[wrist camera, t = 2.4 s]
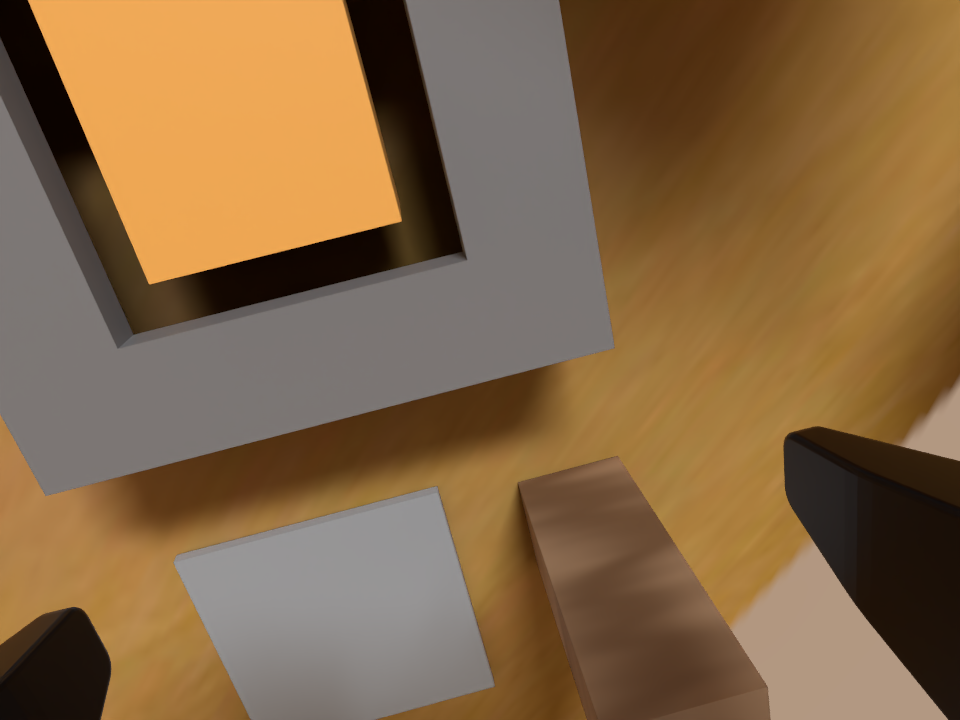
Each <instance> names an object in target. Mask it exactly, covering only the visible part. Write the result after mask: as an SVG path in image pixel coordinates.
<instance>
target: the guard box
mask: <svg viewBox="0 0 960 720" xmlns="http://www.w3.org/2000/svg"><path fill="white" fill-rule="evenodd" d="M403 2H404V6H405V10H406V14H407V18H408V23H409V27H410V31H411V35H412V39H413V44H414V48H415V52H416V56H417V60H418V65H419V69H420V73H421V77H422V81H423V86H424V90H425V94H426V98H427V102H428V107H429V111H430V115H431V119H432V123H433V128H434V132H435V136H436V140H437V144H438V149H439V153H440V157H441V161H442V165H443V169H444V174H445V178H446V182H447V186H448V190H449V195H450V199H451V203H452V207H453V211H454V216H455V220H456V224H457V228H458V232H459V237H460V241H461V245H462V249H463V252H459V253H455V254H451V255H447V256H443V257H439V258H435V259H431V260H427V261H423V262H419V263H416V264H412V265H408V266H404V267H400V268H396V269H392V270H388V271H384V272H380V273H376V274H372V275H368V276H364V277H360V278H356V279H352V280H348V281H344V282H340V283H336V284H332V285H328V286H324V287H321V288H317V289H313V290H309V291H305V292H301V293H297V294H293V295H289V296H285V297H281V298H277V299H273V300H269V301H265V302H261V303H257V304H253V305H249V306H245V307H241V308H237V309H233V310H229V311H226V312H222V313H218V314H214V315H210V316H206V317H202V318H198V319H194V320H190V321H186V322H182V323H178V324H174V325H170V326H166V327H162V328H158V329H154V330H150V331H146V332H142V333H138V334H134V335H133V332H132V330H131V328H130V326H129V323H128V321H127V319H126V317H125V315H124V312H123V310H122V308H121V306H120V303H119V301H118V299H117V297H116V294H115V292H114V290H113V288H112V286H111V283H110V281H109V279H108V277H107V274H106V272H105V270H104V268H103V266H102V263H101V261H100V259H99V257H98V254H97V252H96V250H95V248H94V245H93V243H92V241H91V239H90V237H89V234H88V232H87V230H86V228H85V225H84V223H83V221H82V219H81V216H80V214H79V212H78V210H77V208H76V205H75V203H74V201H73V199H72V196H71V194H70V192H69V190H68V188H67V185H66V183H65V181H64V179H63V176H62V174H61V172H60V170H59V167H58V165H57V163H56V161H55V159H54V156H53V154H52V152H51V150H50V147H49V145H48V143H47V141H46V138H45V136H44V134H43V132H42V130H41V127H40V125H39V123H38V121H37V118H36V116H35V114H34V112H33V110H32V107H31V105H30V103H29V101H28V98H27V96H26V94H25V92H24V89H23V87H22V85H21V83H20V81H19V78H18V76H17V74H16V72H15V69H14V67H13V65H12V63H11V61H10V58H9V56H8V54H7V52H6V49H5V47H4V45H3V43H2V40H1V38H0V415H1V416H2V418H3V420H4V422H5V424H6V425H7V427H8V429H9V431H10V433H11V434H12V436H13V438H14V440H15V442H16V443H17V445H18V447H19V449H20V451H21V452H22V454H23V456H24V458H25V460H26V461H27V463H28V465H29V467H30V469H31V470H32V472H33V474H34V476H35V478H36V479H37V481H38V483H39V485H40V487H41V488H42V490H43V492H44V494H45V496H48V495H51V494H55V493H59V492H63V491H67V490H71V489H75V488H78V487H82V486H86V485H90V484H94V483H98V482H101V481H105V480H109V479H113V478H117V477H121V476H125V475H128V474H132V473H136V472H140V471H144V470H148V469H151V468H155V467H159V466H163V465H167V464H171V463H175V462H178V461H182V460H186V459H190V458H194V457H198V456H202V455H205V454H209V453H213V452H217V451H221V450H225V449H228V448H232V447H236V446H240V445H244V444H248V443H252V442H255V441H259V440H263V439H267V438H271V437H275V436H278V435H282V434H286V433H290V432H294V431H298V430H302V429H305V428H309V427H313V426H317V425H321V424H325V423H328V422H332V421H336V420H340V419H344V418H348V417H352V416H355V415H359V414H363V413H367V412H371V411H375V410H378V409H382V408H386V407H390V406H394V405H398V404H402V403H405V402H409V401H413V400H417V399H421V398H425V397H428V396H432V395H436V394H440V393H444V392H448V391H452V390H455V389H459V388H463V387H467V386H471V385H475V384H478V383H482V382H486V381H490V380H494V379H498V378H502V377H505V376H509V375H513V374H517V373H521V372H525V371H529V370H532V369H536V368H540V367H544V366H548V365H552V364H555V363H559V362H563V361H567V360H571V359H575V358H579V357H582V356H586V355H590V354H594V353H598V352H602V351H605V350H609V349H613V348H615V347H614V341H613V335H612V328H611V322H610V316H609V310H608V303H607V297H606V291H605V285H604V278H603V272H602V266H601V260H600V254H599V247H598V241H597V235H596V229H595V222H594V216H593V210H592V204H591V197H590V191H589V185H588V179H587V172H586V166H585V160H584V154H583V147H582V141H581V135H580V129H579V122H578V116H577V110H576V104H575V97H574V91H573V85H572V79H571V72H570V66H569V60H568V54H567V47H566V41H565V35H564V29H563V22H562V16H561V10H560V4H559V0H403Z"/></svg>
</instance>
